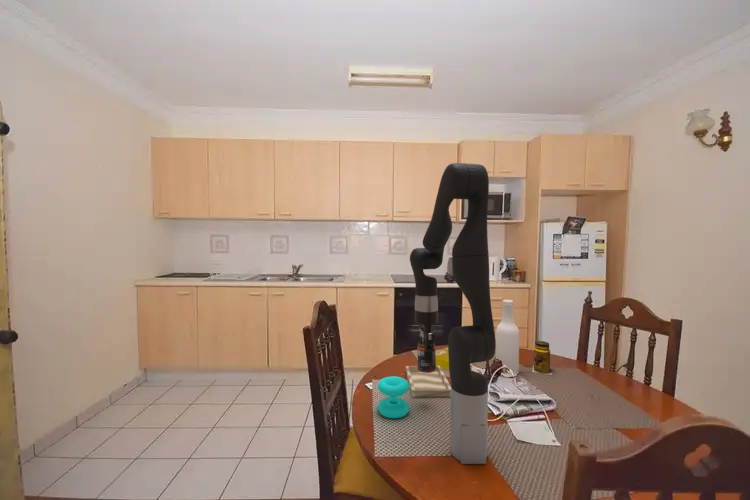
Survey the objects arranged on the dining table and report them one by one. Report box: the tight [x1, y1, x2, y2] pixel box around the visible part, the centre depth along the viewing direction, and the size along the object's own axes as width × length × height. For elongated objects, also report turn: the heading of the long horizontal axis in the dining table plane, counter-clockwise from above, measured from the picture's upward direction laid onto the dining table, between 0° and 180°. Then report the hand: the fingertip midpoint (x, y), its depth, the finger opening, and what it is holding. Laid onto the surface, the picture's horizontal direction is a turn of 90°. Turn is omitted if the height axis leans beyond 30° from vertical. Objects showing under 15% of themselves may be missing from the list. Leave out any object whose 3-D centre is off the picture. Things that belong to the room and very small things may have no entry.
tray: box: [405, 365, 451, 399], centre depth 130 cm, size 22×14×3 cm, turn 1°
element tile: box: [436, 346, 474, 371], centre depth 151 cm, size 15×15×5 cm
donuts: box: [377, 375, 410, 419], centre depth 110 cm, size 10×10×10 cm
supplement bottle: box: [416, 335, 437, 373], centre depth 113 cm, size 6×6×11 cm
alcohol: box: [495, 299, 520, 374], centre depth 139 cm, size 9×9×30 cm
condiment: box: [531, 340, 553, 376], centre depth 143 cm, size 7×8×12 cm
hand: (426, 359), depth 113 cm, fingers closed on supplement bottle, 6 cm apart
